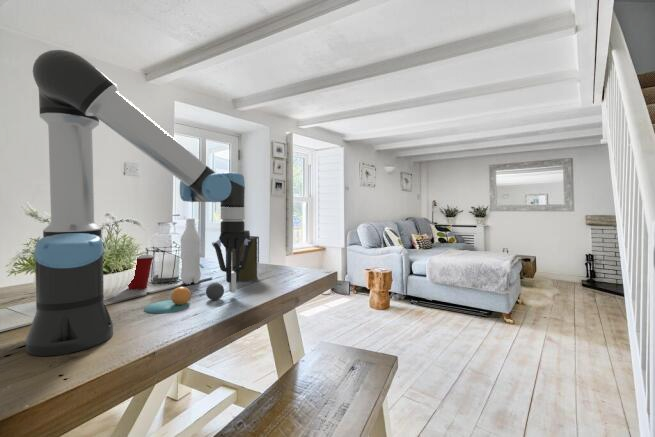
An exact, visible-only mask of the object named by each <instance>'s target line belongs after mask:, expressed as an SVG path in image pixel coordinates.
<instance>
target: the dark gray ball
mask: <svg viewBox="0 0 655 437" xmlns="http://www.w3.org/2000/svg"><path fill="white" fill-rule="evenodd" d="M224 294H225V289H224V286H223V285H222V284H221V283H220V282H213V283H212V282H211V283H210V284H208V286H207V288H206V290H205V295H206V297H207V298H208V299H209V300H210V301H211V300H212V301H217V300H220V299H221V298H222V297H223V296H224Z"/></svg>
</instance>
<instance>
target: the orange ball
mask: <svg viewBox="0 0 655 437" xmlns="http://www.w3.org/2000/svg"><path fill="white" fill-rule="evenodd" d="M191 295H192V294H191V291H190V289H189V288H187V287H186V286H178V287H175V289H173V290H172V292H171V294H170V299H171V300H172V302H173V303H174V304H176V305H184V304H186V303H187V302H188V303H189V302H190V300H191Z"/></svg>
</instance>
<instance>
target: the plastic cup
mask: <svg viewBox="0 0 655 437" xmlns="http://www.w3.org/2000/svg"><path fill="white" fill-rule="evenodd" d="M140 255H141V256H139V257H137V265H136V270H135V276H134V279H133V280H132V281H131V283H130V284H129V285H128V284H127V288H128V290H131V289H132V290H135V291H137V290H144V289H146V288H147V287H148V283H149V277H150V272H151V268H152V267H151V266H152V264H153V260H154V258H155V255H154V254H153V255H152V254H140ZM136 289H137V290H136Z"/></svg>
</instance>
